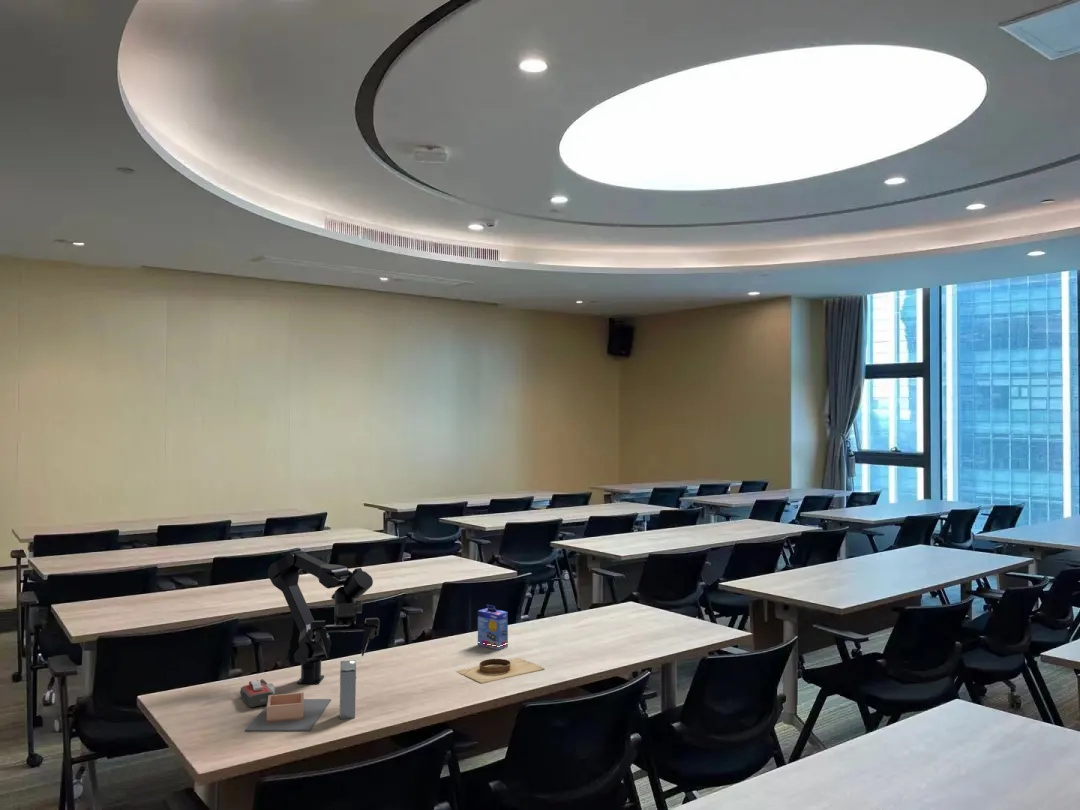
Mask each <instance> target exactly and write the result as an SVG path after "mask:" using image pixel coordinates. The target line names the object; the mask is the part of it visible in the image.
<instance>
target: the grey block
mask: <svg viewBox="0 0 1080 810" xmlns="http://www.w3.org/2000/svg"><path fill="white" fill-rule="evenodd" d="M339 664H340V668H339V671H340V672H339V720H347V719H355V718H356V690H357V688H356V687H357V685H356V684H357V683H356V682H357V660H342V661H340V663H339Z"/></svg>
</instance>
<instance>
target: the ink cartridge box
mask: <svg viewBox="0 0 1080 810" xmlns="http://www.w3.org/2000/svg"><path fill="white" fill-rule="evenodd" d="M485 606H486V608H482V609H479V610H477V646H480V647H486V648H488V649H489V648H490V649H493V650H498V651H499V650H501V649H504V648H508V647H509V636H508V635H509V630H508V627H509V625H508V623H509V622H508V621H509V620H508V617H509V615H508V611H505V610H500V609H496V606H494V605H490V604H486V605H485ZM478 642H480V643H478ZM483 643H485V644H483ZM505 643H508V644H506V645H503V644H505ZM487 644H491V645H487ZM492 645H496V646H492ZM500 645H503V646H500ZM497 646H500V647H497Z"/></svg>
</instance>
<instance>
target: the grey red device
mask: <svg viewBox="0 0 1080 810" xmlns="http://www.w3.org/2000/svg"><path fill="white" fill-rule="evenodd" d="M239 693H240V698H241V699H242V700H243V701H244V702H245V704H246V705H247V706H248V707H250V708H255V707H259V706H267V703H268V695H276V686H275V685H274V684H273V683H272V682H271V683H268V682H266V681H265V679H263V678H261V679H260V681H259V680H258V679H254V680H249V682H248V684H246V685H243V686H241V687H240V691H239Z"/></svg>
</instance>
